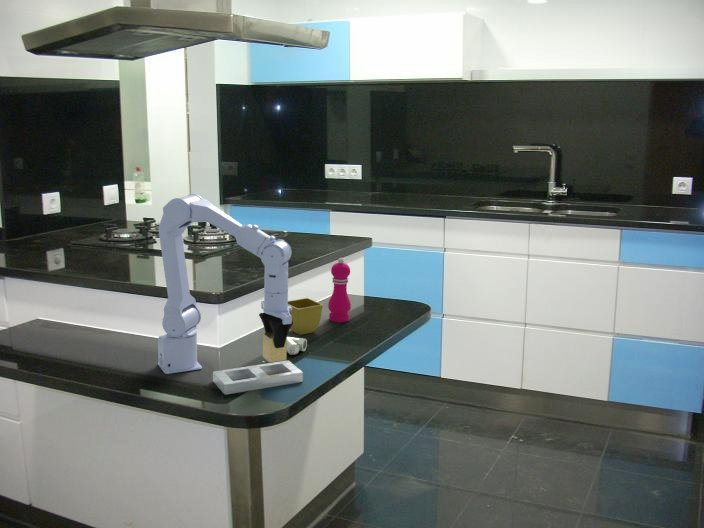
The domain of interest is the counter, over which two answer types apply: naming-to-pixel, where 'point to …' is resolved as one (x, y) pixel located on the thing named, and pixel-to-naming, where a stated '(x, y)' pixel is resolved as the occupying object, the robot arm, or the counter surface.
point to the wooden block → (273, 349)
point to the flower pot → (305, 315)
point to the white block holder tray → (257, 377)
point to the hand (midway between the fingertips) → (275, 344)
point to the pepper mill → (339, 293)
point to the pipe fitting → (296, 345)
